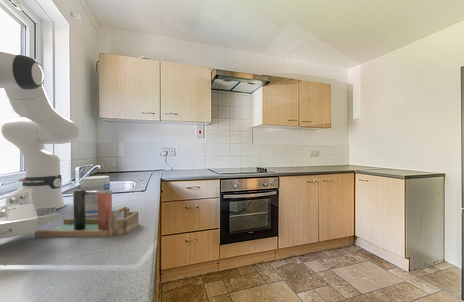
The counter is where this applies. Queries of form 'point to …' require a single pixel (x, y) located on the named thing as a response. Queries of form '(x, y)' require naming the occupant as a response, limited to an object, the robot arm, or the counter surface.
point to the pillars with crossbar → (103, 208)
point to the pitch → (69, 231)
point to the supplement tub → (94, 185)
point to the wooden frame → (122, 222)
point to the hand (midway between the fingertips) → (58, 212)
